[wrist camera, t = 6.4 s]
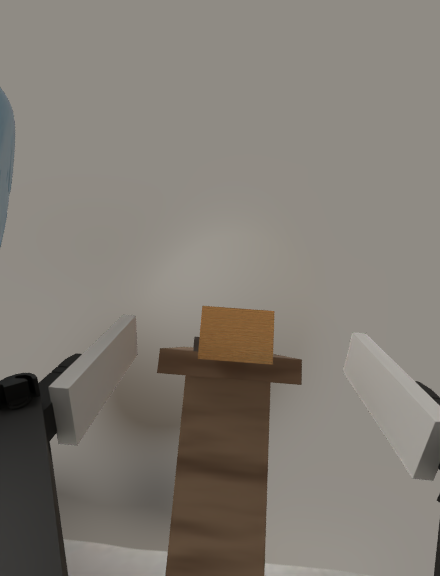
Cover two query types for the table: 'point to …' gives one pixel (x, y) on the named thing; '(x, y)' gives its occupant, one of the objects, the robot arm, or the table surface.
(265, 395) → the stand
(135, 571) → the table surface
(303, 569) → the table surface
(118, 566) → the table surface
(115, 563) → the table surface
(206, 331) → the wood grain block
